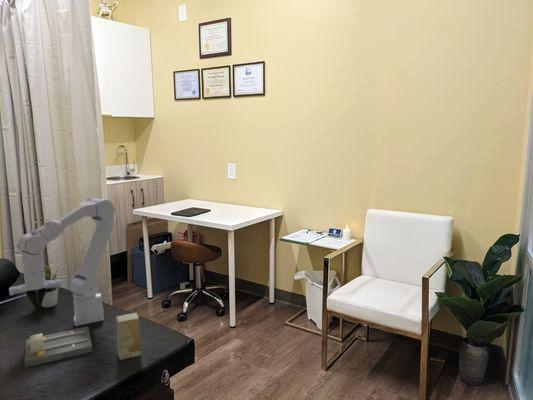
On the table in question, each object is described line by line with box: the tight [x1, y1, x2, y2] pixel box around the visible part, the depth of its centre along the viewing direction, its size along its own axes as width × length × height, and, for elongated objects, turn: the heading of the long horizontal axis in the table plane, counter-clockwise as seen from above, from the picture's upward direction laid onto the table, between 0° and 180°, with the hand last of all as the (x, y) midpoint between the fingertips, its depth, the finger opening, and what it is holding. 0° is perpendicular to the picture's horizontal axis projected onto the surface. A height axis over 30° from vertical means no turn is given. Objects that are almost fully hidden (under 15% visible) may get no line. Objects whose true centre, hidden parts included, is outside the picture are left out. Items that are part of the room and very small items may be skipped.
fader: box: [29, 332, 44, 351], centre depth 125 cm, size 3×4×3 cm
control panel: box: [24, 325, 93, 369], centre depth 128 cm, size 18×14×3 cm
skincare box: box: [115, 312, 142, 361], centre depth 124 cm, size 6×4×12 cm
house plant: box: [41, 264, 64, 308], centre depth 159 cm, size 14×14×16 cm
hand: (38, 311), depth 133 cm, fingers closed
